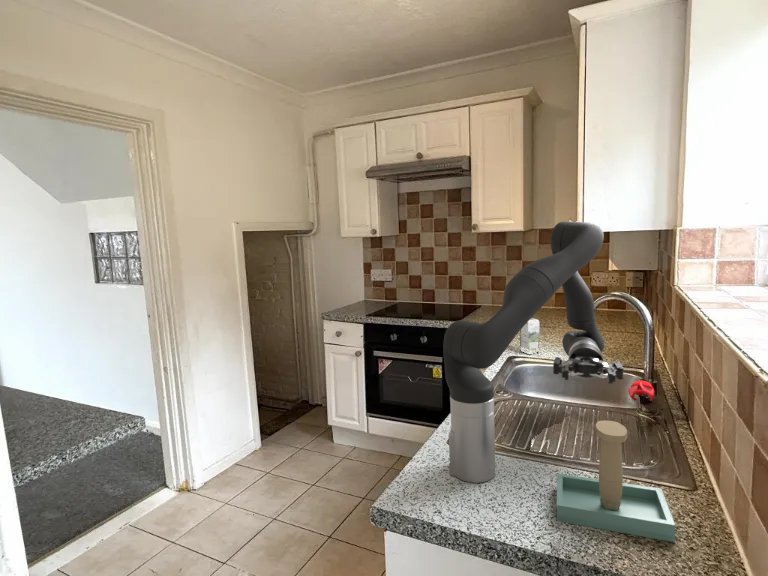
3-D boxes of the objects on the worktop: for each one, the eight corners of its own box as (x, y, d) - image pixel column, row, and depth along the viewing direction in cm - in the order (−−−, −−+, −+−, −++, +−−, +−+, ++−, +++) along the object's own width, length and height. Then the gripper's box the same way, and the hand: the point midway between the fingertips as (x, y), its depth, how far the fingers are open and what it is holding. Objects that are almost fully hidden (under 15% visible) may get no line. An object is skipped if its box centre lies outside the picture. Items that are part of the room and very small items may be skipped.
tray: (556, 520, 79) (556, 505, 78) (557, 487, 89) (557, 473, 88) (674, 542, 72) (675, 525, 72) (660, 503, 82) (661, 488, 82)
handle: (620, 497, 83) (621, 421, 81) (629, 518, 77) (630, 437, 75) (592, 494, 84) (593, 419, 82) (599, 515, 78) (599, 434, 76)
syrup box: (531, 350, 191) (530, 317, 190) (539, 353, 186) (539, 319, 184) (519, 352, 189) (519, 318, 188) (528, 355, 184) (528, 321, 182)
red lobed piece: (659, 395, 126) (658, 379, 130) (637, 387, 127) (637, 371, 131) (645, 409, 131) (645, 394, 136) (625, 402, 133) (625, 387, 137)
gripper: (554, 341, 111) (552, 357, 96) (618, 344, 105) (626, 362, 90) (554, 370, 112) (552, 391, 97) (617, 375, 106) (625, 398, 91)
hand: (588, 377), depth 94 cm, fingers open, 8 cm apart
